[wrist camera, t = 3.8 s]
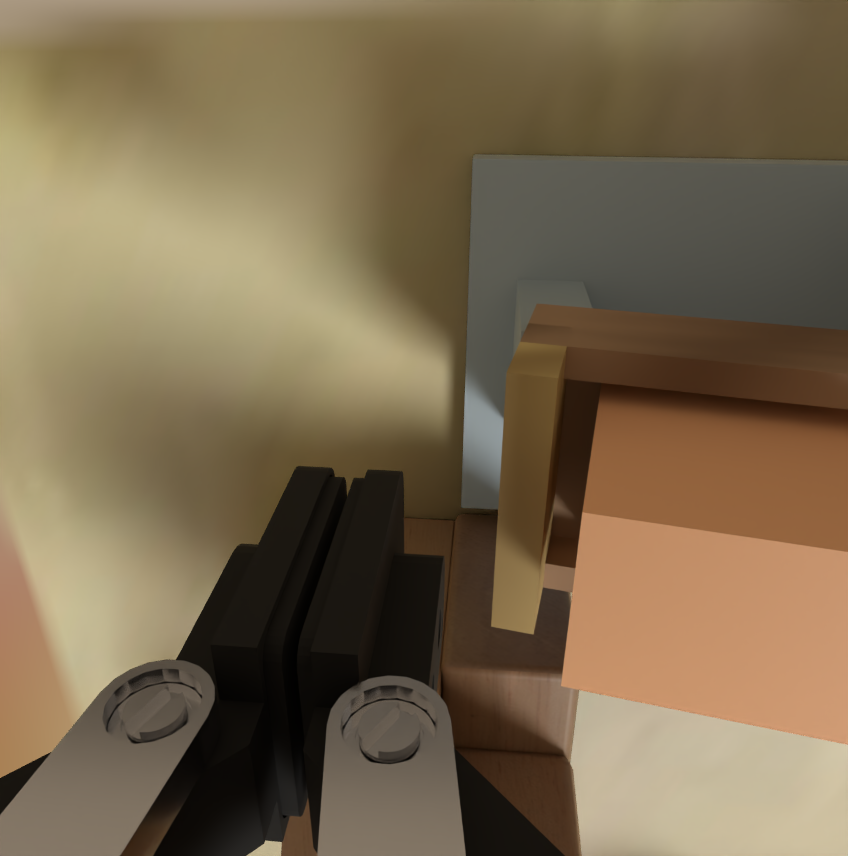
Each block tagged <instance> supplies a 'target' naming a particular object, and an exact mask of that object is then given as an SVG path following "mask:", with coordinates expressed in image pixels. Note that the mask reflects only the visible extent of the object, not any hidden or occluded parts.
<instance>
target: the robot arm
mask: <svg viewBox="0 0 848 856" xmlns="http://www.w3.org/2000/svg"><path fill="white" fill-rule="evenodd" d="M444 582H445V557H444V556H440V555H423V554H406V553H404V481H403V472H402V471H385V470H367V473H366V476H365V478H354V479H353V482H352V485H351V487H350V490H349V493H348V496H347V488H346V480H345V478H344V477H335V476H334V471H333V469H332V468H325V467H305V466H298V467H296V469H295V470H294V472H293V474H292V477H291V479H290V481H289V483H288V485H287V487H286V489H285V491H284V493H283V495H282V497H281V499H280V501H279V503H278V505H277V507H276V510H275V512H274V514H273V516H272V518H271V520H270V522H269V524H268V526H267V528H266V530H265V532H264V534H263V536H262V538H261V540H260V543H259V545H254V544H240V545H238V546H237V547H236V549H235V550H234V551H233V553H232V555H231V557H230V559H229V561H228V563H227V565H226V566H225V568H224V570H223V572H222V574H221V576H220V578H219V580H218V582H217V583H216V585H215V587H214V589H213V591H212V593H211V595H210V597H209V599H208V601H207V602H206V604H205V606H204V608H203V610H202V612H201V614H200V616H199V618H198V619H197V621H196V623H195V625H194V627H193V629H192V631H191V633H190V635H189V637H188V638H187V640H186V642H185V644H184V646H183V648H182V650H181V652H180V654H179V655H178V657H177V659H176V660H161V661H155V662H149V663H146V664H143V665H141V666H138V667H135V668H133V669H130V670H129V671H127V672H125V673H124V674H122V675H120V676H119V677H117V678H115V679H114V680H113V681H112V682H111V683H110V684H109V685H108V686H106V687H105V688H104V689H103V690H102V691H101V692H100V693H99V695H98V696H97V697H96V698H95V699H94V701H93V702H92V703H91V704H90V706H89V707H88V708H87V709H86V711H85V712H84V713H83V714H82V715H81V717H80V718H79V719H78V720H77V722H76V723H75V724H74V725H73V726H72V728H71V729H70V730H69V732H68V733H67V734H66V735H65V736H64V738H63V739H62V740H61V741H60V742H59V744H58V745H57V746H56V747H55V749H54V750H53V751H52V752H50V753H48V754H46V755H45V756H42V757H41V758H39V759H37V760H35V761H33V762H31V763H29V764H27V765H25V766H23V767H21V768H19V769H17V770H15V771H13V772H11V773H9V774H7V775H6V776H3V777H1V778H0V856H246V855H248V854H249V853H251V852H252V851H254V850H255V849H257V848H258V847H260V846H261V845H263V844H264V842H265V840H267V841H278V842H283V839H284V836H285V832H286V828H287V825H288V821H289V817H290V816H297V817H301V816H302V815H303V813H304V810H305V807H306V803H307V800H308V801H309V810H310V820H311V830H312V839H313V848H314V849H315V851H316V852H317V856H565V855H564V854H563V853H562V852H561V851H560V850H559V849H558V848H557V847H555V846H554V845H553V844H552V843H551V842H550V841H549V840H548V839H547V838H546V837H545V836H544V835H543V834H542V833H541V832H540V831H539V830H538V829H537V828H536V827H535V826H534V825H533V824H532V823H531V822H530V821H529V820H528V819H527V818H526V817H525V816H524V815H523V814H522V813H521V812H520V811H519V810H518V809H517V808H515V807H514V806H513V805H512V804H511V803H510V802H509V801H508V800H507V799H506V798H505V797H504V796H503V795H502V794H501V793H500V792H499V791H498V790H497V789H496V788H495V787H494V786H493V785H492V784H491V783H490V782H489V781H488V780H487V779H486V778H485V777H484V776H483V775H482V774H481V773H480V772H479V771H478V770H476V769H475V768H474V767H473V766H472V765H471V764H470V763H469V762H468V761H467V760H466V759H465V758H464V757H463V756H462V755H461V754H460V753H459V752H458V751H457V750H456V749H455V748H454V744H453V735H452V725H451V718H450V715H449V712H448V709H447V705H446V704H445V702H444V701H443V700H442V698H441V697H440V696H439V695H438V693H437V685H438V675H439V665H440V655H441V644H442V631H443V614H444Z"/></svg>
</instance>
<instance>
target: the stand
mask: <svg viewBox="0 0 848 856" xmlns="http://www.w3.org/2000/svg"><path fill="white" fill-rule="evenodd" d="M536 304H549V305H560V306H572V307H584V308H595V309H607V310H618V311H630V312H642V313H653V314H665V315H676V316H688V317H700V318H711V319H723V320H734V321H746V322H758V323H769V324H781V325H792V326H804V327H816V328H827V329H839V330H848V161H847V160H788V159H729V158H670V157H610V156H551V155H492V154H474V155H473V164H472V194H471V224H470V255H469V285H468V315H467V345H466V376H465V406H464V436H463V467H462V497H461V508H477V509H495V510H498V505H499V488H500V472H501V455H502V439H503V422H504V405H505V389H506V373H507V370H508V368H509V366H510V363H511V361H512V359H513V357H514V354H515V352H516V350H517V348H518V345H519V343H520V341H521V338H522V336H523V334H524V332H525V329H526V327H527V325H528V323H529V320H530V318H531V316H532V314H533V311H534V309H535V307H536Z"/></svg>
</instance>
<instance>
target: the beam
mask: <svg viewBox="0 0 848 856" xmlns="http://www.w3.org/2000/svg"><path fill="white" fill-rule="evenodd" d="M601 383H608V384H617V385H626V386H635V387H644V388H654V389H663V390H672V391H681V392H690V393H700V394H709V395H718V396H727V397H736V398H746V399H755V400H764V401H773V402H782V403H792V404H801V405H810V406H819V407H828V408H838V409H847V410H848V330H839V329H827V328H816V327H804V326H792V325H781V324H769V323H758V322H746V321H734V320H723V319H711V318H700V317H688V316H676V315H665V314H653V313H642V312H630V311H618V310H607V309H595V308H584V307H572V306H560V305H549V304H536V307H535V309H534V311H533V314H532V316H531V318H530V320H529V323H528V325H527V327H526V329H525V332H524V334H523V336H522V338H521V341H520V343H519V345H518V348H517V350H516V352H515V354H514V357H513V359H512V361H511V363H510V366H509V368H508V370H507V373H506V389H505V405H504V422H503V439H502V455H501V472H500V488H499V505H498V521H497V538H496V554H495V571H494V587H493V604H492V620H491V627H496V628H502V629H507V630H512V631H517V632H523V633H528V634H534V629H535V624H536V619H537V614H538V609H539V604H540V599H541V594H542V589H543V587H544V588H549V589H555V590H561V591H567V592H573V584H574V576H575V568H576V560H577V552H578V544H579V535H580V527H581V519H582V511H583V505H584V498H585V491H586V484H587V477H588V471H589V464H590V457H591V450H592V443H593V437H594V430H595V423H596V416H597V410H598V403H599V396H600V389H601Z"/></svg>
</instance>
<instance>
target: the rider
mask: <svg viewBox="0 0 848 856" xmlns="http://www.w3.org/2000/svg"><path fill="white" fill-rule="evenodd" d="M561 686H563V687H568V688H572V689H577V690H582V691H587V692H592V693H597V694H602V695H607V696H612V697H617V698H622V699H626V700H631V701H636V702H641V703H646V704H651V705H656V706H661V707H666V708H671V709H676V710H680V711H685V712H690V713H695V714H700V715H705V716H710V717H715V718H720V719H725V720H730V721H734V722H739V723H744V724H749V725H754V726H759V727H764V728H769V729H774V730H779V731H783V732H788V733H793V734H798V735H803V736H808V737H813V738H818V739H823V740H828V741H833V742H837V743H842V744H847V745H848V410H847V409H838V408H828V407H819V406H810V405H801V404H792V403H782V402H773V401H764V400H755V399H746V398H736V397H727V396H718V395H709V394H700V393H690V392H681V391H672V390H663V389H654V388H644V387H635V386H626V385H617V384H608V383H601V389H600V396H599V403H598V410H597V416H596V423H595V430H594V437H593V443H592V450H591V457H590V464H589V471H588V477H587V484H586V491H585V498H584V505H583V511H582V519H581V527H580V535H579V544H578V552H577V560H576V568H575V576H574V584H573V592H572V600H571V608H570V617H569V625H568V633H567V641H566V649H565V657H564V665H563V673H562V681H561Z"/></svg>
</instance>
